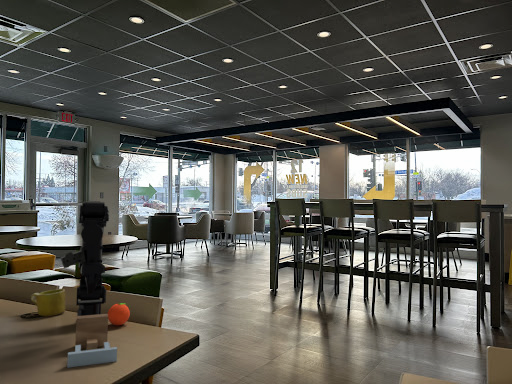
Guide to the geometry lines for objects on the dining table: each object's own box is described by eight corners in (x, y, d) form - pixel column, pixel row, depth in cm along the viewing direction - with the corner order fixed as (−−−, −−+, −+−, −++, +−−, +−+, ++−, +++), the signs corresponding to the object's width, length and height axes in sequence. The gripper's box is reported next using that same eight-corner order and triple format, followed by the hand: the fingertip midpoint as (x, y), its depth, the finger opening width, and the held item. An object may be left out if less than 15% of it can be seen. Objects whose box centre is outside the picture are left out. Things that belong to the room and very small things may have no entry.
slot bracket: (68, 358, 97) (68, 346, 97) (114, 352, 102) (115, 341, 102) (67, 367, 91) (67, 354, 92) (116, 361, 96) (117, 348, 96)
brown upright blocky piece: (75, 346, 107) (76, 316, 107) (106, 342, 110) (107, 313, 110) (74, 356, 98) (76, 324, 99) (108, 352, 102) (109, 321, 102)
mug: (77, 306, 144) (67, 281, 143) (55, 321, 135) (44, 295, 133) (53, 309, 149) (44, 285, 147) (30, 324, 139) (20, 299, 138)
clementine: (125, 320, 133) (126, 299, 134) (136, 324, 129) (137, 302, 129) (103, 325, 127) (104, 303, 128) (113, 329, 123) (114, 306, 123)
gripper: (62, 241, 124) (60, 291, 122) (63, 244, 107) (60, 302, 106) (100, 241, 129) (98, 288, 127) (106, 244, 112) (104, 299, 111)
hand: (90, 294), depth 118 cm, fingers closed
